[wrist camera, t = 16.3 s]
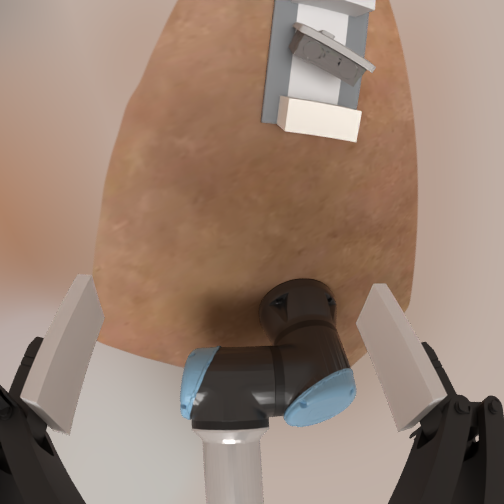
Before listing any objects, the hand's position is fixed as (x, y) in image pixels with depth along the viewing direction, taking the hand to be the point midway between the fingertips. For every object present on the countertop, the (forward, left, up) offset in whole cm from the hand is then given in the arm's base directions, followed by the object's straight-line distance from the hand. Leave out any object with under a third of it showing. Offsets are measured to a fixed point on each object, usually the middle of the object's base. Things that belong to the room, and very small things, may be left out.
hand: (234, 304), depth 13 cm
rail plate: (+15, -11, -31) cm, 36 cm away
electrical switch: (+15, -10, -30) cm, 35 cm away
